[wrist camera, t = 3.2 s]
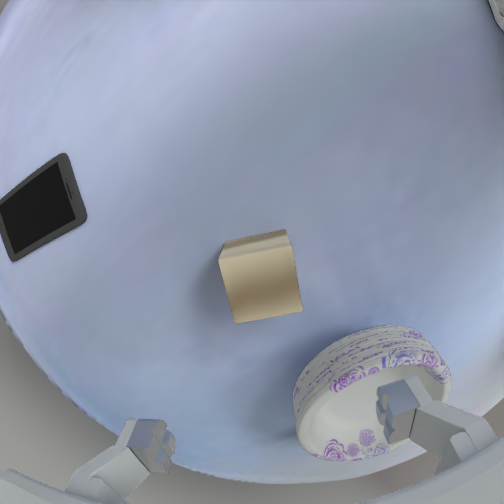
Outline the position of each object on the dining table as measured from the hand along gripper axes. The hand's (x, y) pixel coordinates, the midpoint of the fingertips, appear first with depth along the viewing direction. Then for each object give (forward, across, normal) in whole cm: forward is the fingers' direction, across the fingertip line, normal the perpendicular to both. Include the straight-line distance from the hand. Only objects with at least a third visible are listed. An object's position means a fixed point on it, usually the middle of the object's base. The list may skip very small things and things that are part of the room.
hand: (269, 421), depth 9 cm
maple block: (+16, 0, -1) cm, 16 cm away
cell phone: (+17, +22, -11) cm, 30 cm away
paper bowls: (+17, -8, +13) cm, 23 cm away
